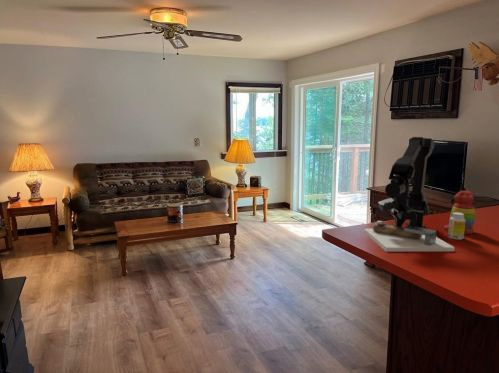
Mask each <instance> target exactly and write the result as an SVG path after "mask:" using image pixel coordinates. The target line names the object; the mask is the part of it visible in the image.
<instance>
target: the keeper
mask: <svg viewBox="0 0 499 373" xmlns="http://www.w3.org/2000/svg"><path fill="white" fill-rule="evenodd" d="M404 231H408V232H413V233H417V234H421V235H425V242H424V244H425V245H429V246H430V245H432V244H434V243H436V237H437V232H438V231H437V230H434V229H429V228H426V227H416V226H411V225H410V226H409V225H406V226H405V228H404Z"/></svg>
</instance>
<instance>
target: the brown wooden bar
mask: <svg viewBox="0 0 499 373" xmlns="http://www.w3.org/2000/svg"><path fill="white" fill-rule="evenodd" d="M372 226H373V227H372V229H373V230H374V231H376V232H383V233H389V234H394V235H400V236H405V237H411V238H416V239H420V238H421V237H422V235H421V234H417V233H413V232H408V231H404V228H405V227H406V226H405V227H404V226H401V227H399V226H396V225H391V224H386V223H383V224H382V225H379V224H377V222H375V223H373V225H372Z"/></svg>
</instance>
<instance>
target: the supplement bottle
mask: <svg viewBox="0 0 499 373" xmlns="http://www.w3.org/2000/svg"><path fill="white" fill-rule="evenodd" d="M448 225H449V231H448V234H447V236H448V238H449V239H453V240H463V239H464V237H465V234H464V230H465V219H464V214H463V213H458V212H454V213H453V214H452V217H451V218H450V217H449V222H448Z"/></svg>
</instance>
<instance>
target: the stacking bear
mask: <svg viewBox="0 0 499 373" xmlns="http://www.w3.org/2000/svg"><path fill="white" fill-rule="evenodd" d="M453 199H454V201H455V203H454V204H453V206H452V208H451V211H450V213H449V214H450V217H449V219H450V218H451V217H452V214H453V213H454V212H458V213H463V214H464V219H465V230H464V235H470V234H471V235H472V234H474V228H473V227H474V224H475V222H476V210H475V207H474V205H473V204H472V203H473V202H474V199H475V198H474V194H473V193H472V191H471V190H460V191H458V192H457V193H456V194H455V195H454V196H453ZM443 229H444V230H445V231H448V232H449V224H446V225H444V226H443Z"/></svg>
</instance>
